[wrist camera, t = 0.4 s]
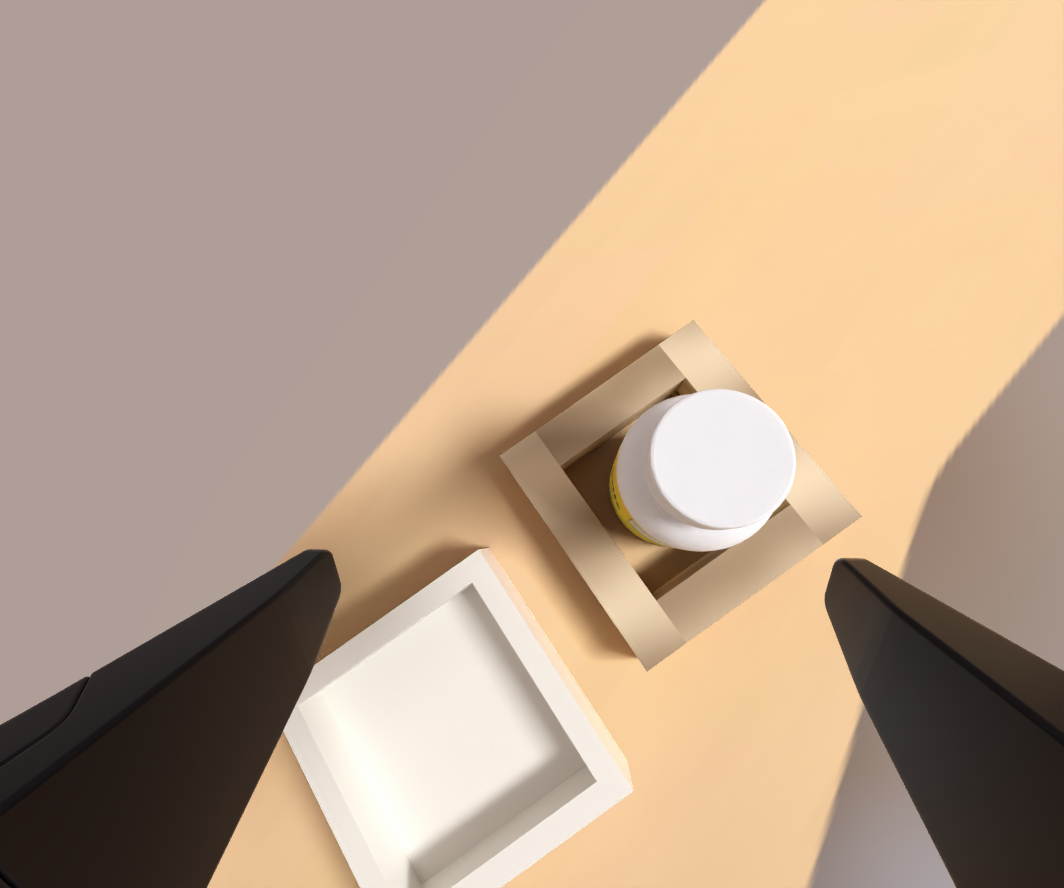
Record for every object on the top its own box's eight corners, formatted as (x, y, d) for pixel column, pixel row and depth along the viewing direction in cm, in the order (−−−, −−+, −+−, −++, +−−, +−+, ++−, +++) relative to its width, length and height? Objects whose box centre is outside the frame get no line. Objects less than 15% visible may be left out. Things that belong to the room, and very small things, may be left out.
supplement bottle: (634, 416, 23) (672, 334, 14) (740, 462, 22) (859, 410, 13) (587, 514, 23) (593, 500, 13) (694, 567, 22) (784, 593, 12)
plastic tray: (627, 760, 21) (633, 790, 18) (418, 911, 20) (397, 963, 18) (489, 547, 23) (478, 549, 20) (301, 680, 23) (267, 698, 20)
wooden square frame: (836, 518, 22) (861, 516, 20) (640, 658, 21) (646, 671, 19) (683, 337, 24) (693, 320, 22) (506, 462, 24) (499, 455, 22)
